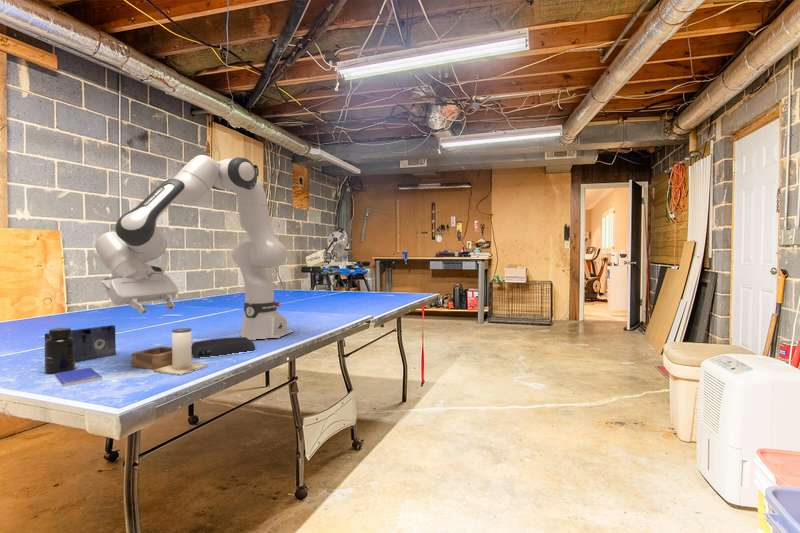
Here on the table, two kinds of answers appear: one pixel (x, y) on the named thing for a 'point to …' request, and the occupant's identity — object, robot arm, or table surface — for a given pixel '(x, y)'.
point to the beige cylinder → (181, 348)
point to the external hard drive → (221, 347)
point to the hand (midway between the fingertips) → (158, 309)
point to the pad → (179, 371)
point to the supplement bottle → (59, 351)
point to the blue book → (77, 376)
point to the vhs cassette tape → (93, 342)
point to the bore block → (152, 358)
